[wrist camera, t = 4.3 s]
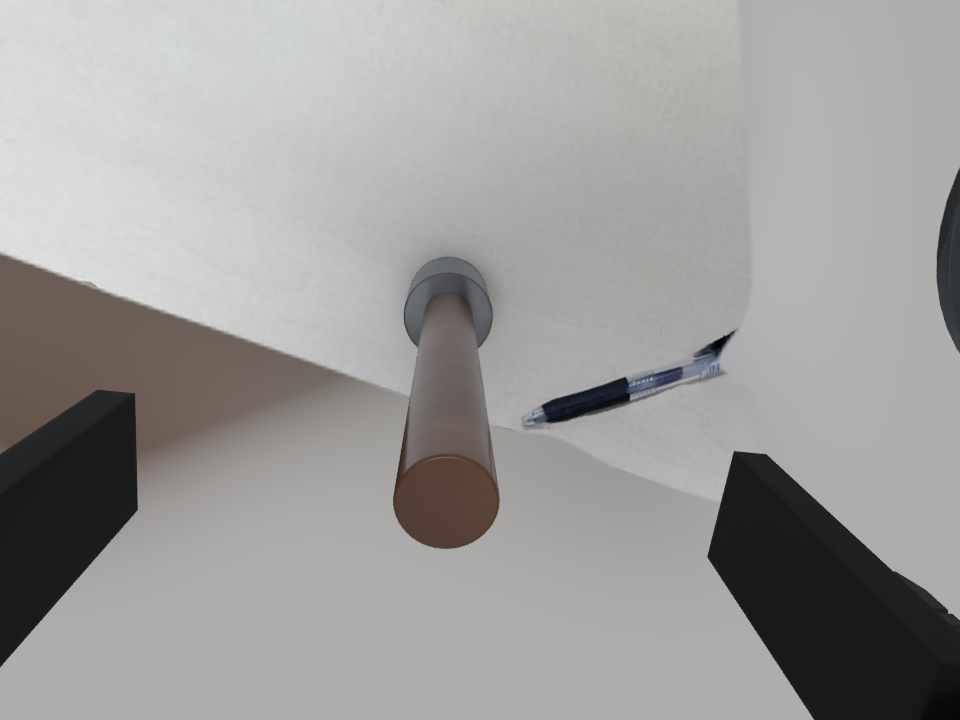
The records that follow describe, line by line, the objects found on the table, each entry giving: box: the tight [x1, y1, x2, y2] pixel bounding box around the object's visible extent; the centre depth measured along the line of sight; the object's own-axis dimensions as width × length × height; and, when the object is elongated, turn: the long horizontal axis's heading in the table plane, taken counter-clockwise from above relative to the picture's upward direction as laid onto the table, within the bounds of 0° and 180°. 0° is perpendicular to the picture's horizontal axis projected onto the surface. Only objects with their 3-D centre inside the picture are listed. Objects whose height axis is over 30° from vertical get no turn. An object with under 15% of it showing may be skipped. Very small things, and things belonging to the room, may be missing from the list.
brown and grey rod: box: [393, 257, 500, 549], centre depth 24 cm, size 4×4×22 cm
